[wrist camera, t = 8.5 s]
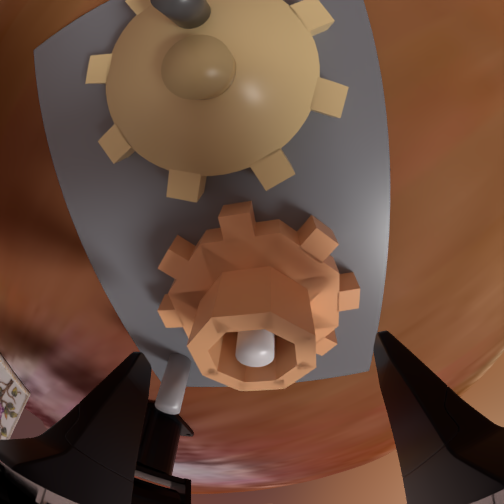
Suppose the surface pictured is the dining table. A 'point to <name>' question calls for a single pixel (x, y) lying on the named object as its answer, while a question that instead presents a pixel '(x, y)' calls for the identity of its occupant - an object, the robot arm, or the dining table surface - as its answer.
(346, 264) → the gear board
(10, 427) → the decorative jar
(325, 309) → the loose gear
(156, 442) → the robot arm
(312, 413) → the dining table surface
